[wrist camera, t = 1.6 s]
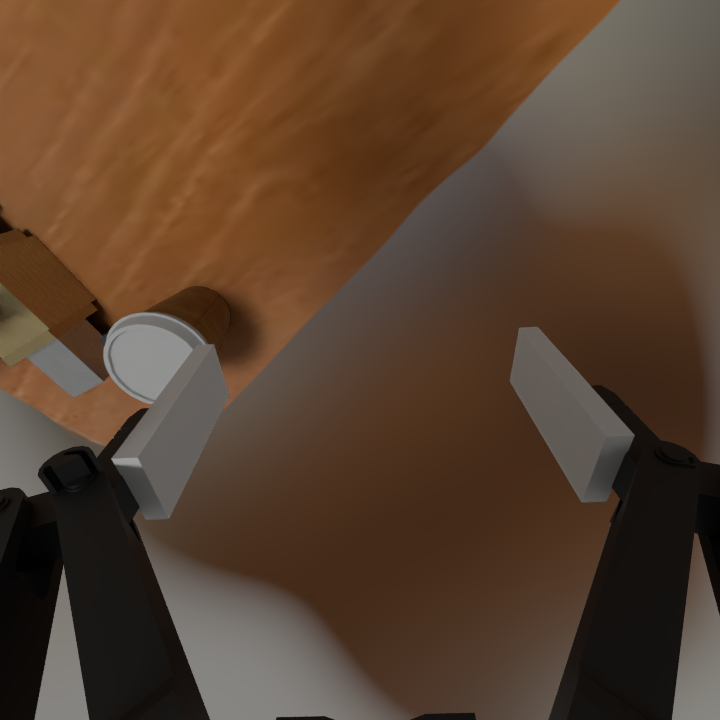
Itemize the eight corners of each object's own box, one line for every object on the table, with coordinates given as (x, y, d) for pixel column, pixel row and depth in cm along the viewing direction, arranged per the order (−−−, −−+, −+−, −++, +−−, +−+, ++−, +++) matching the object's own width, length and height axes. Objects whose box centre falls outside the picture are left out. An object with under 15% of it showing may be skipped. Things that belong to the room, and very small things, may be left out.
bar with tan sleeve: (-74, 205, 38) (-197, 227, 29) (-30, 168, 36) (-148, 179, 28) (101, 369, 48) (46, 420, 39) (142, 346, 46) (94, 394, 38)
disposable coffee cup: (185, 355, 47) (137, 419, 36) (143, 284, 42) (73, 334, 32) (257, 337, 45) (228, 398, 35) (222, 261, 40) (175, 306, 30)
